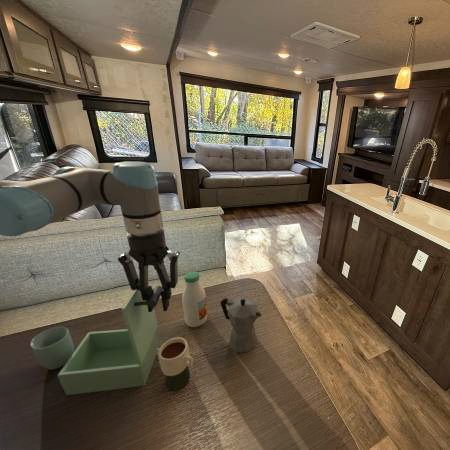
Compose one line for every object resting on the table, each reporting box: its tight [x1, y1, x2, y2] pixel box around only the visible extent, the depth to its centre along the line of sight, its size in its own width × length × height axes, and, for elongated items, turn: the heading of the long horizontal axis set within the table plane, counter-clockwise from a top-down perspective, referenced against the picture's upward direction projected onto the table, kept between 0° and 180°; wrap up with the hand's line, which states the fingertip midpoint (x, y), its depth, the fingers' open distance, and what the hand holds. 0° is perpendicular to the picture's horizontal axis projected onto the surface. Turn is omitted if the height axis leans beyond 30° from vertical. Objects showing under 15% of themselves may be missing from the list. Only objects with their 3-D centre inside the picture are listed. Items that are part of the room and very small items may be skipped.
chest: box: [57, 328, 161, 396], centre depth 71 cm, size 19×14×8 cm
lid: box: [121, 284, 162, 365], centre depth 68 cm, size 19×14×6 cm
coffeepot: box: [219, 297, 262, 353], centre depth 81 cm, size 15×9×18 cm, turn 67°
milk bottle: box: [181, 271, 208, 328], centre depth 87 cm, size 8×8×20 cm
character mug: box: [156, 337, 194, 391], centre depth 68 cm, size 11×7×13 cm, turn 77°
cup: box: [29, 325, 76, 371], centre depth 70 cm, size 8×8×10 cm
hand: (159, 307), depth 67 cm, fingers open, 3 cm apart
